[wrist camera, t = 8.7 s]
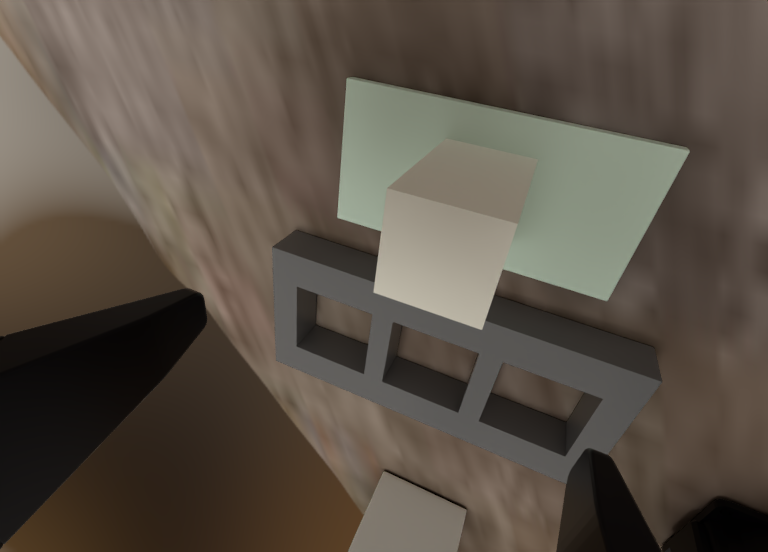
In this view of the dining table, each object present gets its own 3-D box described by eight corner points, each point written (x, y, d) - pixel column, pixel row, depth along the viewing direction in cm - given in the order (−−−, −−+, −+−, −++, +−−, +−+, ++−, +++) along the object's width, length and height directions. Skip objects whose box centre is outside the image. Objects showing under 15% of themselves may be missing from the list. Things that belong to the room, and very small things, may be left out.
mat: (686, 147, 15) (690, 151, 15) (606, 294, 19) (607, 301, 19) (352, 76, 19) (346, 78, 18) (342, 213, 23) (337, 217, 22)
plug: (538, 159, 17) (517, 224, 11) (510, 242, 19) (481, 330, 14) (446, 138, 18) (386, 188, 12) (429, 219, 20) (373, 292, 15)
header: (654, 347, 20) (662, 381, 18) (580, 454, 25) (580, 490, 23) (295, 230, 25) (272, 247, 23) (295, 339, 30) (276, 360, 28)
